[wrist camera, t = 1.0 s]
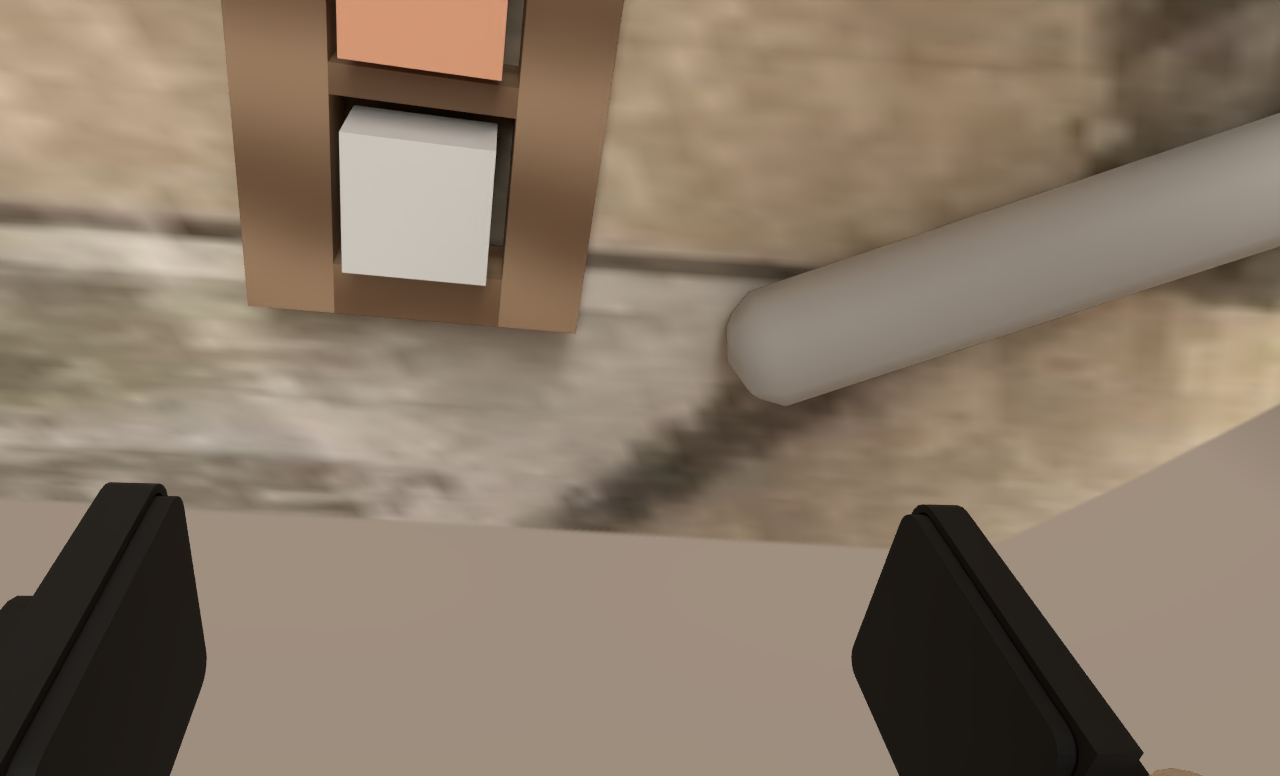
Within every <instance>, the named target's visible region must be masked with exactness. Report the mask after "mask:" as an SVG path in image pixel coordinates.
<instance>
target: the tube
mask: <svg viewBox="0 0 1280 776" xmlns="http://www.w3.org/2000/svg"><path fill="white" fill-rule="evenodd" d="M1279 246H1280V113H1278V114H1275V115H1272V116H1269V117H1266V118H1263V119H1260V120H1257V121H1254V122H1251V123H1248V124H1245V125H1242V126H1239V127H1236V128H1233V129H1230V130H1227V131H1224V132H1221V133H1218V134H1215V135H1212V136H1209V137H1206V138H1203V139H1200V140H1197V141H1194V142H1191V143H1188V144H1185V145H1182V146H1179V147H1176V148H1174V149H1171V150H1168V151H1165V152H1162V153H1159V154H1156V155H1153V156H1150V157H1147V158H1144V159H1141V160H1138V161H1135V162H1132V163H1129V164H1126V165H1123V166H1120V167H1117V168H1114V169H1111V170H1108V171H1105V172H1102V173H1099V174H1096V175H1093V176H1090V177H1087V178H1084V179H1081V180H1078V181H1075V182H1072V183H1069V184H1067V185H1064V186H1061V187H1058V188H1055V189H1052V190H1049V191H1046V192H1043V193H1040V194H1037V195H1034V196H1031V197H1028V198H1025V199H1022V200H1019V201H1016V202H1013V203H1010V204H1007V205H1004V206H1001V207H998V208H995V209H992V210H989V211H986V212H983V213H980V214H977V215H974V216H971V217H968V218H965V219H963V220H960V221H957V222H954V223H951V224H948V225H945V226H942V227H939V228H936V229H933V230H930V231H927V232H924V233H921V234H918V235H915V236H912V237H909V238H906V239H903V240H900V241H897V242H894V243H891V244H888V245H885V246H882V247H879V248H876V249H873V250H870V251H867V252H864V253H861V254H858V255H856V256H853V257H850V258H847V259H844V260H841V261H838V262H835V263H832V264H829V265H826V266H823V267H820V268H817V269H814V270H811V271H808V272H805V273H802V274H799V275H796V276H793V277H790V278H787V279H784V280H781V281H778V282H775V283H772V284H769V285H766V286H763V287H760V288H757V289H754V290H752V291H749V292H748V293H747V295H746V296H745V297H744V298H743V300H742V301H741V302H740V304H739V305H738V306H737V308H736V309H735V310H734V311H733V313H732V314H731V317H730V320H729V322H728V325H727V328H726V330H727V353H728V363H729V365H730V366H731V367H732V369H733V370H734V371H735V373H736V374H737V376H738V377H739V378H740V380H741V381H742V382H743V384H744V385H745V386H746V388H747V389H748V391H749V392H750V393H751V394H753V395H754V396H756V397H757V398H759V399H762V400H765V401H769V402H772V403H776V404H779V405H783V406H788V405H791V404H794V403H797V402H800V401H803V400H807V399H810V398H813V397H816V396H819V395H822V394H825V393H828V392H831V391H834V390H837V389H840V388H844V387H847V386H850V385H853V384H856V383H859V382H862V381H865V380H868V379H871V378H874V377H878V376H881V375H884V374H887V373H890V372H893V371H896V370H899V369H902V368H905V367H908V366H912V365H915V364H918V363H921V362H924V361H927V360H930V359H933V358H936V357H939V356H942V355H945V354H949V353H952V352H955V351H958V350H961V349H964V348H967V347H970V346H973V345H976V344H979V343H983V342H986V341H989V340H992V339H995V338H998V337H1001V336H1004V335H1007V334H1010V333H1013V332H1017V331H1020V330H1023V329H1026V328H1029V327H1032V326H1035V325H1038V324H1041V323H1044V322H1047V321H1050V320H1054V319H1057V318H1060V317H1063V316H1066V315H1069V314H1072V313H1075V312H1078V311H1081V310H1084V309H1088V308H1091V307H1094V306H1097V305H1100V304H1103V303H1106V302H1109V301H1112V300H1115V299H1118V298H1121V297H1125V296H1128V295H1131V294H1134V293H1137V292H1140V291H1143V290H1146V289H1149V288H1152V287H1155V286H1159V285H1162V284H1165V283H1168V282H1171V281H1174V280H1177V279H1180V278H1183V277H1186V276H1189V275H1193V274H1196V273H1199V272H1202V271H1205V270H1208V269H1211V268H1214V267H1217V266H1220V265H1223V264H1226V263H1230V262H1233V261H1236V260H1239V259H1242V258H1245V257H1248V256H1251V255H1254V254H1257V253H1260V252H1264V251H1267V250H1270V249H1273V248H1276V247H1279Z"/></svg>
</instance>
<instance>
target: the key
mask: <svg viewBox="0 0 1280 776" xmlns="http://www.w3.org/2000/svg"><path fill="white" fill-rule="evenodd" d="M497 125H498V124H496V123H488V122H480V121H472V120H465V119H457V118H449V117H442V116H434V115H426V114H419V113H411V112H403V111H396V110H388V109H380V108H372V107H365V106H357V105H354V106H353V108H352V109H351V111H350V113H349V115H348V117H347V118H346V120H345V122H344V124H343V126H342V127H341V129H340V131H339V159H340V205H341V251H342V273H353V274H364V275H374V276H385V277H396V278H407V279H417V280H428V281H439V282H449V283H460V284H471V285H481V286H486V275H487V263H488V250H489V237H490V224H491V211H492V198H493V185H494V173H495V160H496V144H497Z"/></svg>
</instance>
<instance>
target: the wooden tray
mask: <svg viewBox="0 0 1280 776" xmlns="http://www.w3.org/2000/svg"><path fill="white" fill-rule="evenodd" d="M623 3H624V0H525V1H524V12H523V23H522V35H521V46H520V58H519V67H518V66H511V65H504V64H503V70H502V81H498V80H491V79H483V78H476V77H469V76H462V75H455V74H448V73H441V72H433V71H426V70H419V69H412V68H405V67H398V66H390V65H383V64H376V63H369V62H362V61H355V60H347V59H340V58H337V21H336V0H221V4H222V16H223V27H224V38H225V50H226V61H227V72H228V84H229V95H230V106H231V118H232V129H233V140H234V152H235V163H236V174H237V186H238V197H239V208H240V220H241V231H242V242H243V254H244V265H245V276H246V288H247V299H248V306H258V307H270V308H282V309H293V310H305V311H317V312H329V313H341V314H353V315H364V316H376V317H388V318H400V319H412V320H424V321H435V322H447V323H459V324H471V325H483V326H495V327H506V328H518V329H530V330H542V331H554V332H566V333H576V327H577V320H578V313H579V306H580V299H581V292H582V286H583V279H584V272H585V265H586V258H587V251H588V244H589V237H590V230H591V223H592V217H593V210H594V203H595V196H596V189H597V182H598V175H599V168H600V161H601V154H602V147H603V141H604V134H605V127H606V120H607V113H608V106H609V99H610V92H611V85H612V78H613V72H614V65H615V58H616V51H617V44H618V37H619V30H620V23H621V16H622V9H623ZM344 96H347V97H355V98H362V99H370V100H377V101H385V102H393V103H400V104H408V105H415V106H423V107H431V108H438V109H446V110H453V111H461V112H468V113H476V114H484V115H491V116H499V117H506V118H514V126H513V138H512V149H511V161H510V172H509V184H508V195H507V206H506V218H505V229H504V241H503V247H502V246H492V245H489V250H488V263H487V275H486V286H481V285H471V284H460V283H449V282H439V281H428V280H417V279H407V278H396V277H385V276H374V275H364V274H353V273H342V251H341V205H340V159H339V131H340V129H341V127H342V126H343V124H344V122H345V114H344Z"/></svg>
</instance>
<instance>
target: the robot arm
mask: <svg viewBox="0 0 1280 776" xmlns="http://www.w3.org/2000/svg"><path fill="white" fill-rule="evenodd" d="M206 659H207V657H206V647H205V641H204V634H203V628H202V621H201V615H200V608H199V602H198V595H197V589H196V583H195V576H194V569H193V563H192V556H191V550H190V543H189V536H188V530H187V524H186V517H185V510H184V505H183V501H182V499H181V498H180V497H178V496H168V495H167V491H166V489H165V487H164V486H163V485H161V484H152V483H115V482H110V483H107V484H105V485H104V486H103V488H102V489H101V490H100V492H99V493H98V495H97V496H96V498H95V499H94V501H93V502H92V504H91V506H90V507H89V509H88V510H87V512H86V513H85V515H84V517H83V518H82V520H81V522H80V523H79V525H78V526H77V528H76V529H75V531H74V532H73V534H72V535H71V537H70V539H69V540H68V542H67V543H66V545H65V546H64V548H63V550H62V551H61V553H60V554H59V556H58V557H57V559H56V561H55V562H54V564H53V565H52V567H51V568H50V570H49V572H48V573H47V575H46V576H45V578H44V579H43V581H42V583H41V584H40V586H39V587H38V589H37V590H36V592H35V594H34V595H33V596H16V597H14V598H13V599H11V600H9V601H8V602H7V603H6V604H5V605H4V606H3V607H2V609H1V610H0V776H170V773H171V771H172V768H173V765H174V762H175V759H176V757H177V754H178V751H179V748H180V746H181V743H182V740H183V737H184V734H185V732H186V729H187V726H188V723H189V721H190V718H191V715H192V712H193V709H194V707H195V704H196V701H197V698H198V696H199V693H200V690H201V687H202V684H203V681H204V676H205V671H206ZM852 667H853V671H854V674H855V677H856V679H857V681H858V684H859V686H860V688H861V690H862V693H863V695H864V697H865V699H866V701H867V704H868V706H869V708H870V711H871V713H872V715H873V717H874V720H875V722H876V724H877V726H878V729H879V731H880V733H881V735H882V738H883V740H884V742H885V744H886V747H887V749H888V751H889V753H890V756H891V758H892V760H893V763H894V765H895V767H896V769H897V772H898V774H899V776H1201V775H1199V774H1196V773H1194V772H1191V771H1186V770H1180V769H1174V768H1169V769H1162V770H1156V771H1155V772H1153V773H1152V774H1151V775H1149V773H1148V772H1147V771H1146V769H1145V768H1144V766H1143V765H1142V764H1141V762H1140V761H1139V759H1140V758H1141V756H1142V755H1143V751H1142V750H1141V749H1140V747H1139V746H1138V745H1137V743H1136V742H1135V740H1134V739H1133V738H1132V736H1131V735H1130V733H1129V732H1128V731H1127V729H1126V728H1125V727H1124V725H1123V724H1122V723H1121V721H1120V720H1119V718H1118V717H1117V716H1116V714H1115V713H1114V712H1113V710H1112V709H1111V708H1110V706H1109V705H1108V704H1107V702H1106V701H1105V699H1104V698H1103V697H1102V695H1101V694H1100V693H1099V691H1098V690H1097V688H1096V687H1095V686H1094V684H1093V683H1092V682H1091V680H1090V679H1089V677H1088V676H1087V675H1086V673H1085V672H1084V671H1083V669H1082V668H1081V667H1080V665H1079V664H1078V663H1077V661H1076V660H1075V658H1074V657H1073V656H1072V654H1071V653H1070V652H1069V650H1068V649H1067V648H1066V646H1065V645H1064V643H1063V642H1062V641H1061V639H1060V638H1059V637H1058V635H1057V634H1056V633H1055V631H1054V630H1053V628H1052V627H1051V626H1050V624H1049V623H1048V621H1047V620H1046V619H1045V617H1044V616H1043V615H1042V614H1041V612H1040V611H1039V609H1038V608H1037V606H1036V605H1035V604H1034V602H1033V601H1032V600H1031V598H1030V597H1029V596H1028V594H1027V593H1026V592H1025V590H1024V589H1023V587H1022V586H1021V585H1020V583H1019V582H1018V581H1017V579H1016V578H1015V577H1014V575H1013V574H1012V572H1011V571H1010V570H1009V568H1008V567H1007V565H1006V564H1005V563H1004V561H1003V560H1002V559H1001V557H1000V556H999V555H998V553H997V552H996V550H995V549H994V548H993V546H992V545H991V544H990V542H989V541H988V540H987V538H986V537H985V535H984V534H983V533H982V531H981V530H980V529H979V527H978V526H977V525H976V523H975V522H974V520H973V519H972V518H971V516H970V515H969V514H968V512H967V511H966V510H965V509H964V508H963V507H960V506H958V505H924V504H923V505H918V506H917V507H916V508H915V509H914V510H913V512H912V514H909V515H906V516H904V517H903V518H902V520H901V522H900V525H899V527H898V530H897V533H896V535H895V538H894V540H893V543H892V546H891V548H890V551H889V554H888V556H887V559H886V562H885V564H884V567H883V569H882V572H881V575H880V577H879V580H878V583H877V585H876V588H875V590H874V593H873V596H872V598H871V601H870V604H869V607H868V609H867V611H866V614H865V617H864V620H863V622H862V625H861V627H860V630H859V632H858V635H857V638H856V640H855V643H854V646H853V649H852Z"/></svg>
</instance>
